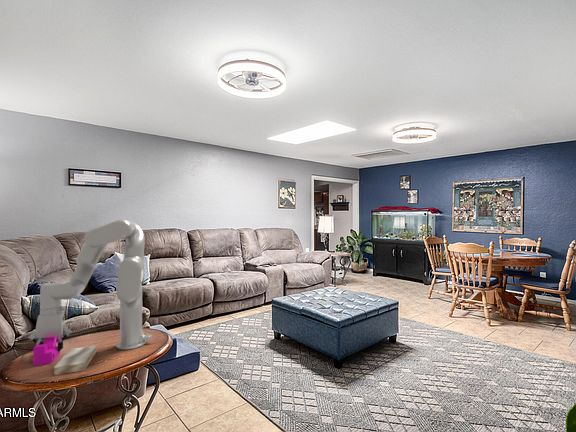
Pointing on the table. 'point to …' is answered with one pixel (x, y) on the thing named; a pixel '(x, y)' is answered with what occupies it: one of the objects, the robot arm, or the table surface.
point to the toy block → (46, 352)
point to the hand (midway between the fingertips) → (50, 351)
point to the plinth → (75, 360)
